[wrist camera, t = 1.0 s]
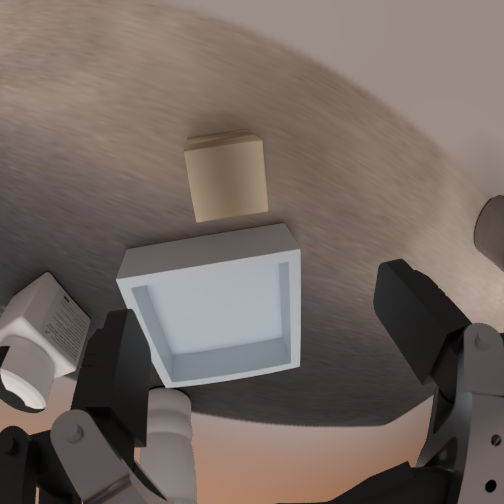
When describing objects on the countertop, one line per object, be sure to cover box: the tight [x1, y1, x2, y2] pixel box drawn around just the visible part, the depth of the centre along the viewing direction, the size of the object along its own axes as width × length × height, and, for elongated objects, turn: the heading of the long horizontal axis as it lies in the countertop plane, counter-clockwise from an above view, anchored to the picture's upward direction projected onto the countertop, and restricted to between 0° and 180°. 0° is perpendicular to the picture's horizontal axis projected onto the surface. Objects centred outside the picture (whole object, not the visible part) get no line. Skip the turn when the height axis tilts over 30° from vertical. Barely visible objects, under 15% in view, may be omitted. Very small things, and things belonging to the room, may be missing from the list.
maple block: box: [184, 130, 268, 223], centre depth 22 cm, size 5×5×6 cm
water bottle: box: [140, 388, 197, 504], centre depth 29 cm, size 7×7×25 cm
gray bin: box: [116, 223, 301, 388], centre depth 29 cm, size 15×15×5 cm
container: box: [0, 272, 91, 413], centre depth 23 cm, size 8×8×13 cm
